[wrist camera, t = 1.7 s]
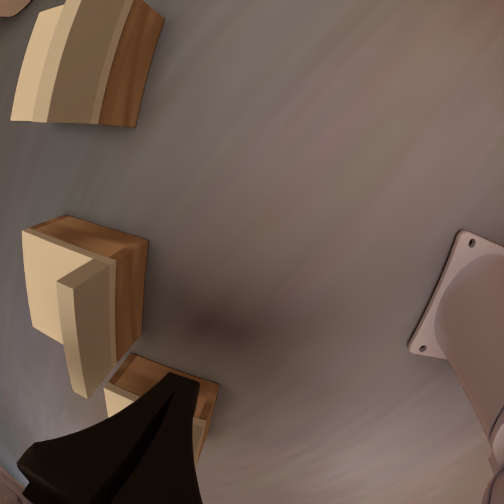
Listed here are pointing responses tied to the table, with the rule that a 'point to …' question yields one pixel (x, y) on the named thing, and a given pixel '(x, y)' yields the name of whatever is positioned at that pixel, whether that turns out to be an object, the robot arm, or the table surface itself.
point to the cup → (12, 7)
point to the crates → (122, 244)
